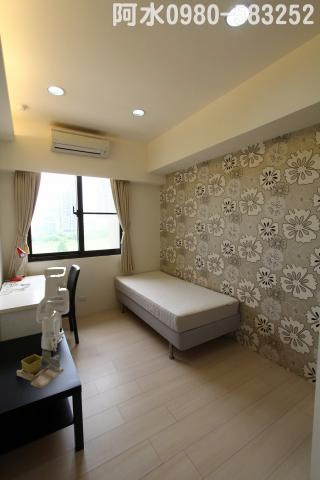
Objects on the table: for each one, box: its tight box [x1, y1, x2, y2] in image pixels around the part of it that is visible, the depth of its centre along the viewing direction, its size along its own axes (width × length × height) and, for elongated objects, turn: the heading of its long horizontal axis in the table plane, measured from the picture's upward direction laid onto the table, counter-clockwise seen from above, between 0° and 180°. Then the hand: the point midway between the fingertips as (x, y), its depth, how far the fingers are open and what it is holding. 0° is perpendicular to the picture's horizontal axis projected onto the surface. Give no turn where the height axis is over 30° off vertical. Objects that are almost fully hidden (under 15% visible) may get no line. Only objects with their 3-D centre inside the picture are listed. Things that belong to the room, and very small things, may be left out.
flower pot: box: [20, 353, 43, 375], centre depth 141 cm, size 9×9×9 cm
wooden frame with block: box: [16, 349, 51, 382], centre depth 145 cm, size 20×14×8 cm
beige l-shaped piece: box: [30, 354, 64, 389], centre depth 137 cm, size 17×8×10 cm, turn 160°
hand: (49, 358), depth 153 cm, fingers closed on wooden frame with block, 2 cm apart
